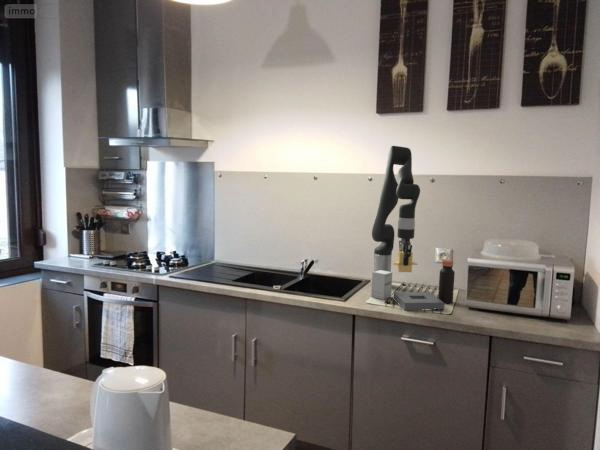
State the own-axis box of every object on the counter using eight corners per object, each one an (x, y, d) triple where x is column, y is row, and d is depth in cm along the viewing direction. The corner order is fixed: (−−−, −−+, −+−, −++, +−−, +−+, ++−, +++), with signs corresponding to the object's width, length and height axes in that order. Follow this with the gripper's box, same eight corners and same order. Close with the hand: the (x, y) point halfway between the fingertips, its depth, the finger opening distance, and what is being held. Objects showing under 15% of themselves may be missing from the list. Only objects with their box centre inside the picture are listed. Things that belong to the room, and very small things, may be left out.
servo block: (391, 270, 219) (392, 249, 218) (414, 270, 219) (415, 249, 218) (393, 272, 215) (394, 250, 214) (416, 272, 215) (418, 250, 214)
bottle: (443, 304, 221) (445, 262, 218) (435, 300, 227) (437, 259, 225) (455, 303, 222) (458, 262, 220) (447, 299, 229) (450, 259, 227)
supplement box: (383, 299, 226) (384, 274, 225) (370, 296, 231) (371, 271, 230) (391, 297, 232) (392, 272, 230) (378, 294, 237) (380, 269, 235)
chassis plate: (393, 299, 228) (393, 292, 227) (429, 299, 229) (429, 292, 229) (404, 310, 210) (404, 302, 210) (443, 310, 212) (443, 302, 211)
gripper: (418, 229, 208) (416, 267, 210) (409, 225, 222) (408, 261, 224) (402, 229, 207) (400, 267, 210) (394, 225, 221) (392, 261, 224)
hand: (404, 264), depth 217 cm, fingers closed on servo block, 4 cm apart
